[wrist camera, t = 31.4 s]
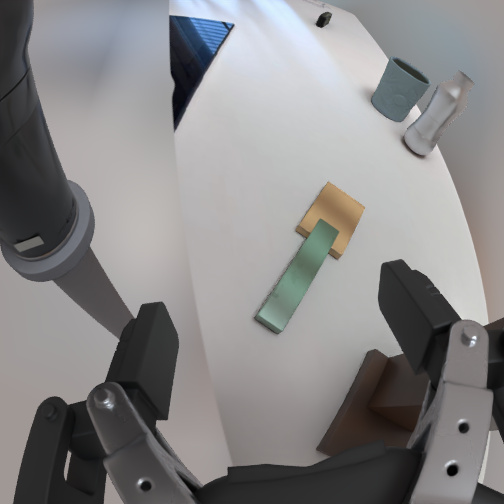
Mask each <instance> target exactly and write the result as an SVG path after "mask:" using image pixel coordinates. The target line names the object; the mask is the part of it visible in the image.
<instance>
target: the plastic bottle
mask: <svg viewBox="0 0 504 504" xmlns="http://www.w3.org/2000/svg"><path fill="white" fill-rule="evenodd" d="M473 85H474V82H473V81H472V80H471V79H470V78H469V77H467V76H466V75H465V74H464V73H463V72H461V71H458V72H457V73H456V74H455V75H454V79H453V80H450V81H445V82H442V83H440V84H439V85H438V86H437V88H436V90H435V92H434V94H433V96H432V98H431V101H430V103H429V104H428V105H427V108H426V109H425V110H424V112H423V113H422V114H421V115H420V116H419V118H418V119H417V120H416V121H415V122H414V123H412V124H411V125H410V126H409V127H408V128H407V130H406V132H405V135H404V138H405V142H406V144H407V145H408V147H409V148H410V149H411V150H413V151H414V152H415V153H417V154H419V155H427V154H429V153H430V152H431V151H432V150H433V149H434V147H435V145H436V143H437V141H438V139H439V138H440V136H441V135H442V133H443V132H444V130H445V129H446V128H447V127H448V125H450V124H451V122H452V121H453V120H454V119H455V118H456V117H458V116H459V115H460V114H461V113H462V112H463V111H464V110H465V109H466V106H467V92H468V91H470V90H471V88H472V87H473Z"/></svg>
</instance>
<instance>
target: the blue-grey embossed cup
mask: <svg viewBox="0 0 504 504" xmlns="http://www.w3.org/2000/svg"><path fill="white" fill-rule="evenodd" d="M430 85H431V82H430V81H429V79H428V78H427V77H426V76H425V75H424V74H423V73H422V72H420V71H419V70H418V69H417V68H415V67H414V66H412V65H411V64H409V63H407V62H406V61H404V60H401V59H399V58H397V57H390V59H389V62H388V64H387V66H386V69H385V72H384V74H383V76H382V78H381V80H380V83H379V85H378V87H377V89H376V91H375V93H374V95H373V97H372V100H371V101H372V104H373V105H374V107H375V108H376V109H377V110H378V111H379V112H381V113H382V114H383V115H384V116H386V117H388V118H389V119H391V120H394V121H397V122H401V121H403V120H404V119H405V117H406V116H407V115H408V114H409V112H410V110H411V109H412V108H413V106H415V104H416V102H417V101H418V100H419V99H420V98H421V97H422V96H423V94H424V93H425V92H426V90H427V89H428V87H429V86H430Z"/></svg>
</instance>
